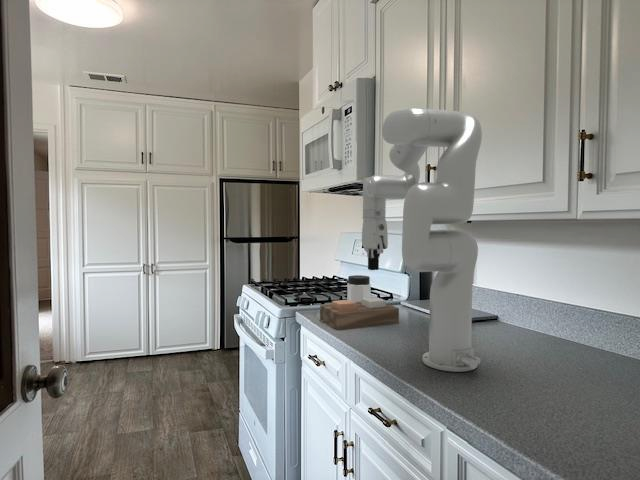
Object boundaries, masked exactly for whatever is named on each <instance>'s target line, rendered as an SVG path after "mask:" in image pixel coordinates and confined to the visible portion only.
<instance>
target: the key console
mask: <svg viewBox="0 0 640 480" xmlns="http://www.w3.org/2000/svg"><path fill="white" fill-rule="evenodd" d="M355 303H356V310H345V311H338V310H336V309H334V308H332V303H330V304H320V305H319V310H320V311H319V313H320V314H319V317H320V318H319V320H320V322H323V323H325V324H326V325H327V326H330V327H331V328H333V329H335V330H337V331H342V330H351V329H361V328H370V327H379V326H388V325H396V324H399V323H400V321H399V320H400V307H398V306H394V305H391V304H388V303H386V307H377V308H368V307H365V306H363V305H361V302H355Z"/></svg>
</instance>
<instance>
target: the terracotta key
mask: <svg viewBox="0 0 640 480" xmlns="http://www.w3.org/2000/svg"><path fill="white" fill-rule="evenodd" d="M331 304H332V308H334V309H336V310H338V311H345V310H356V303H355V302H353V301H350V300H347V299H342V300H341V299H340V300H339V299H338V300H331Z"/></svg>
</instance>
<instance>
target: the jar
mask: <svg viewBox="0 0 640 480" xmlns="http://www.w3.org/2000/svg"><path fill="white" fill-rule="evenodd" d="M370 279H371V278H370V276H368V275H361V274H360V275H358V274H356V275H355V274H354V275H349V276H348V278H347V282H348V283H346V284H347V285H346V286H347V290H346V294H347V297H346V300H350V301H353V302H361V299H362V298H372V297H371V295H372V294H371V292H372V291H371V290H372V289H371V288H372V287H371V286H372V285H371V283H370V282H371V281H370Z"/></svg>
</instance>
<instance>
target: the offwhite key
mask: <svg viewBox="0 0 640 480" xmlns="http://www.w3.org/2000/svg"><path fill="white" fill-rule="evenodd" d="M386 304H387V300H385V299H383V298H381V297H380V298H379V297H378V296H377V297H376V296H375V297H371V298H362V299H361V305H363V306H365V307H368V308H377V307H386Z"/></svg>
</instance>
